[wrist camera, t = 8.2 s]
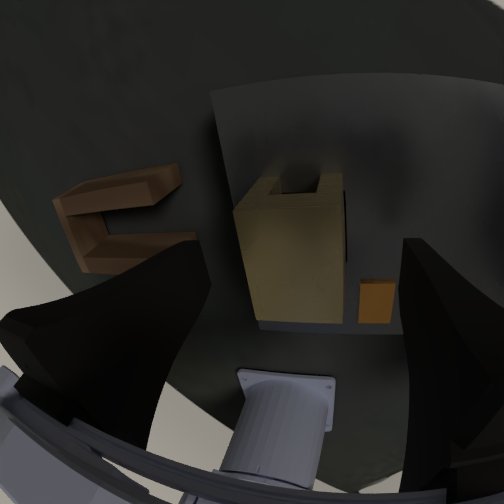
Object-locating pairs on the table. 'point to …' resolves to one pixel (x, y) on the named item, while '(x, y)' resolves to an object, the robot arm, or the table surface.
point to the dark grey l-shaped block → (380, 174)
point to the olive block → (294, 250)
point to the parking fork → (109, 198)
